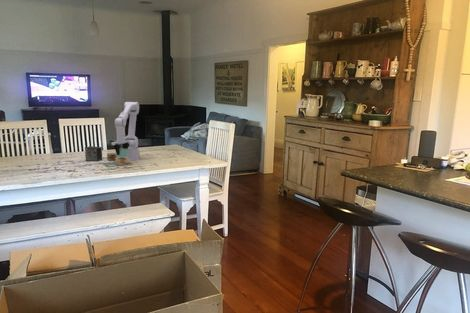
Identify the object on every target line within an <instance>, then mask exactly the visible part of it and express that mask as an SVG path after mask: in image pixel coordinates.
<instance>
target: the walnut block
mask: <svg viewBox="0 0 470 313" xmlns="http://www.w3.org/2000/svg"><path fill="white" fill-rule="evenodd" d="M106 156H107V157H106V158H107V161H108V162H116V161H115V158H118V157H116V152H112V153H107V155H106Z"/></svg>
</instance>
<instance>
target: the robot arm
mask: <svg viewBox="0 0 470 313" xmlns="http://www.w3.org/2000/svg"><path fill="white" fill-rule="evenodd" d="M123 107H124V109H123V111H121V112H120V114H119V115H118V117H116V118H115V119H114V126H115V129H116V132H115V133H116V141H113V142H111V146H112V147H113V148H114V150H115V154H116V153H117V155H119V154H120V151H119V150H120V148H121V145H122V148H125V149H127V156H126V158H128V161H132V160H133V161H134V160H141V158H140V157H141V155H140V154H141V153H140V149H139V147H138V146H139V138H138V137H137V136H136V125H137V123H136V122H137V115H138V114H139V112H140V103H139V102H138V101H125V102H124V104H123ZM128 118H129V122H128V133H127V135H126V130H125V129H126V128H125V127H126V125H127V120H128Z"/></svg>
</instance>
